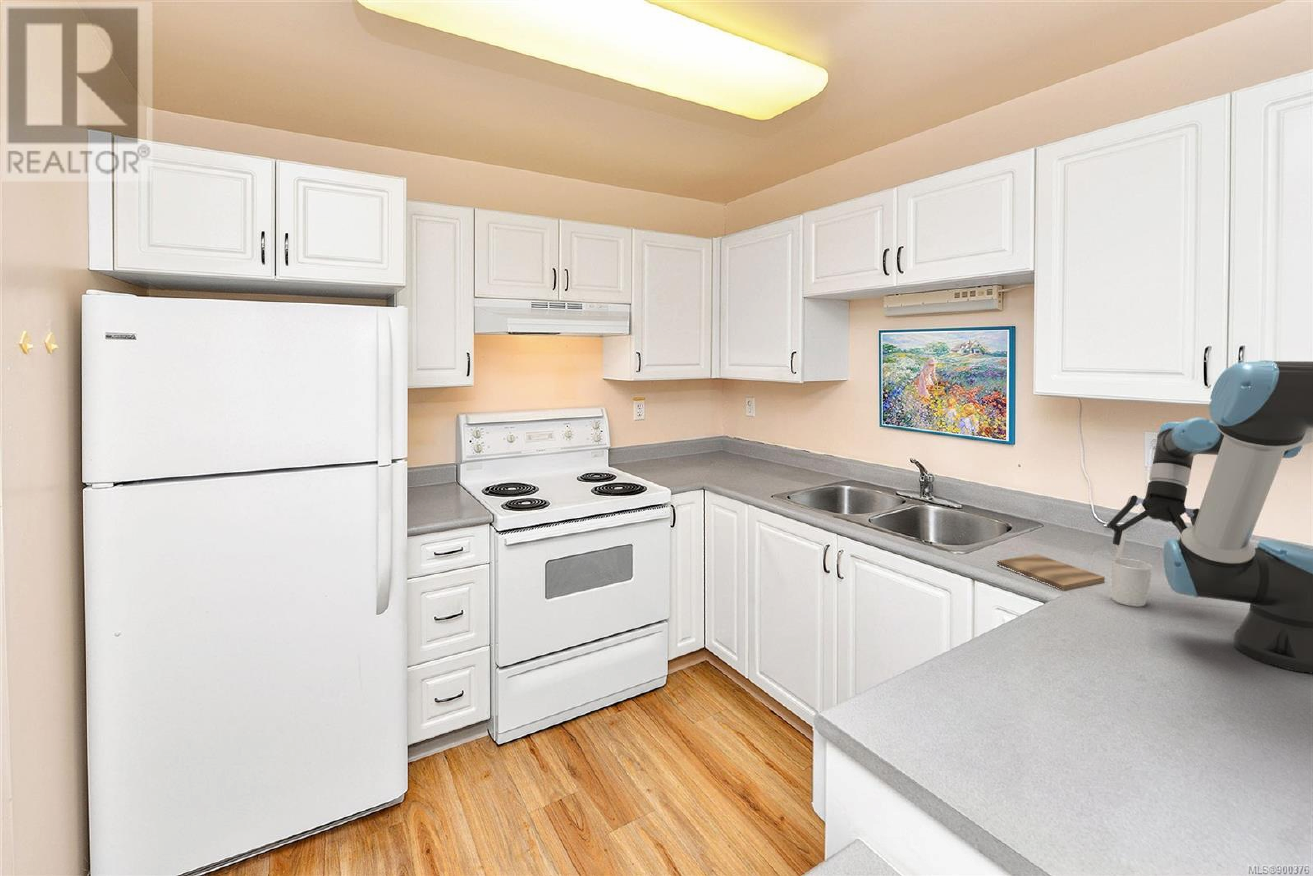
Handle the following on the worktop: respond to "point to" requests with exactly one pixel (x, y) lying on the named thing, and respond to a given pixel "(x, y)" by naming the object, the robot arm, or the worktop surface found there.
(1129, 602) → the white cup
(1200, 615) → the worktop surface
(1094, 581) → the walnut board
